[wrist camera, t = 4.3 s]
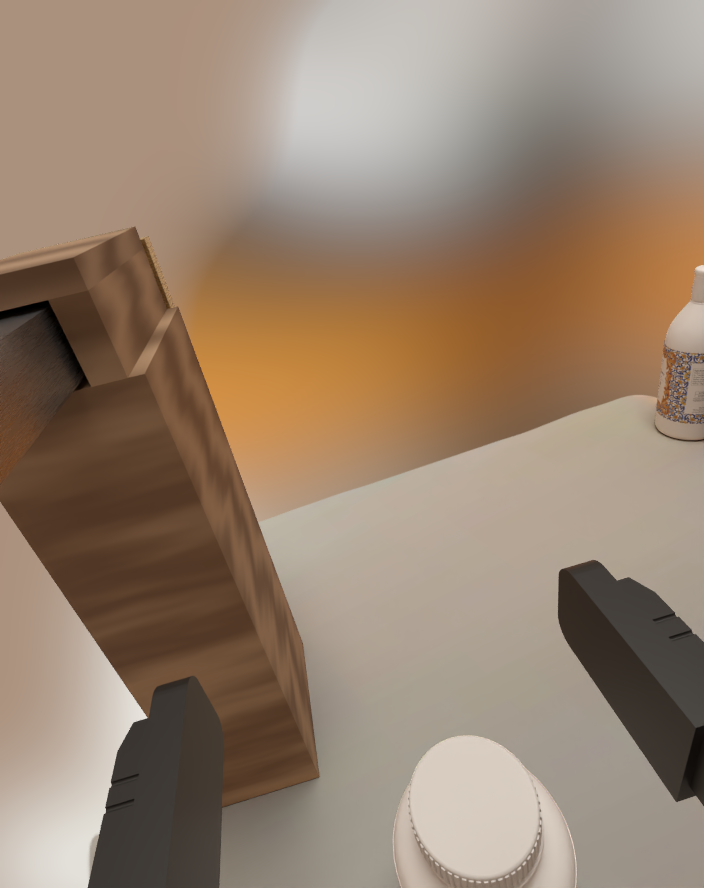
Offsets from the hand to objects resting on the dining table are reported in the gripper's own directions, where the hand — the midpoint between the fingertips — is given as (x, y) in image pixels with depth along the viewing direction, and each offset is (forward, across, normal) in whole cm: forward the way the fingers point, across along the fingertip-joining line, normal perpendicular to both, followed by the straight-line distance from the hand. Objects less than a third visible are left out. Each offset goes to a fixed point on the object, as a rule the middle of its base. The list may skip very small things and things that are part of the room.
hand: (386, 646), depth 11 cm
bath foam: (+41, -45, +29) cm, 68 cm away
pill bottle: (+3, -2, +29) cm, 29 cm away
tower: (+20, +10, +29) cm, 37 cm away
